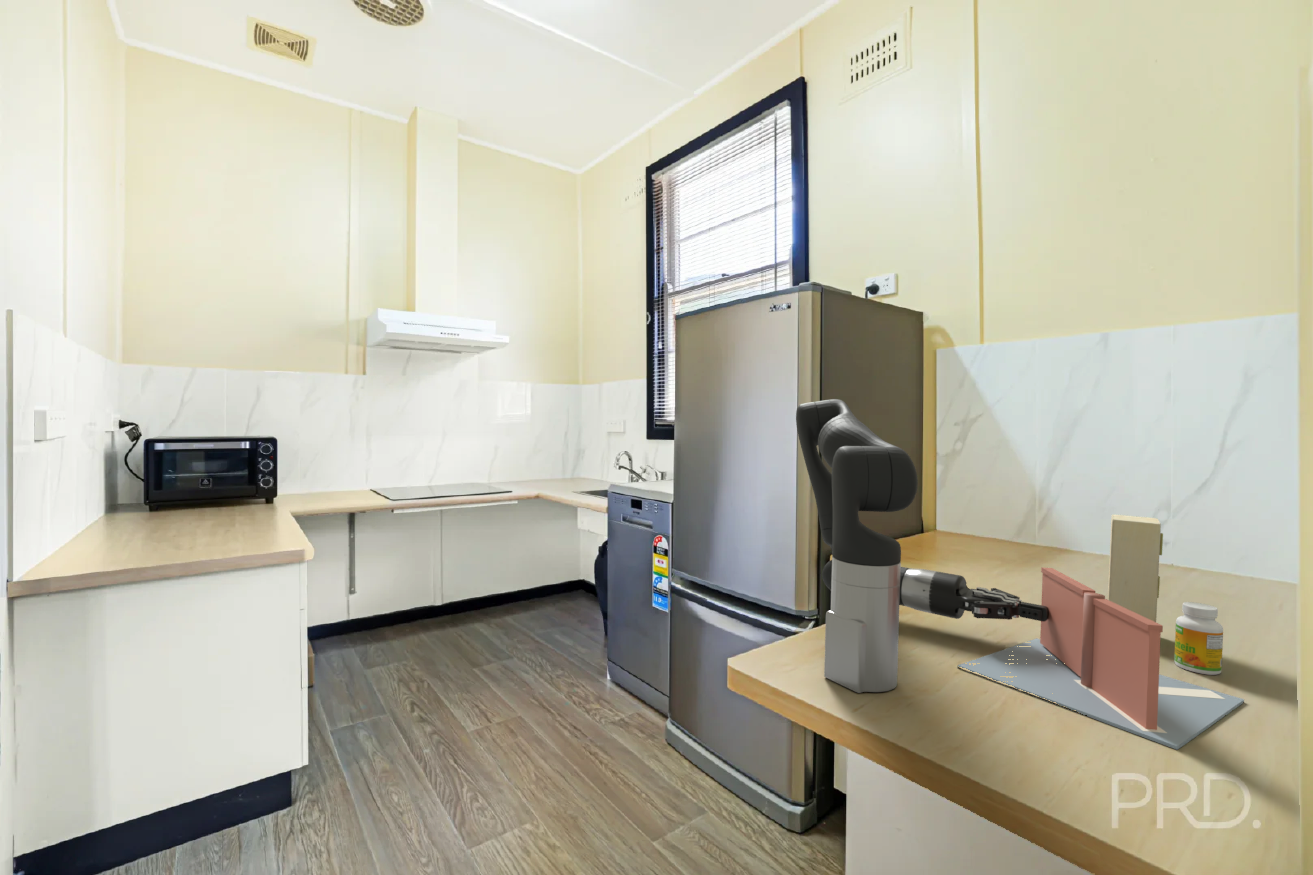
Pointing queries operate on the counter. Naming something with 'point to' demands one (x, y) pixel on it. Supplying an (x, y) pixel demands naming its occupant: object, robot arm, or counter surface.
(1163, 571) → the counter surface
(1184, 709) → the card
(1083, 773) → the counter surface
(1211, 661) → the supplement bottle
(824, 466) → the robot arm
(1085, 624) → the bar
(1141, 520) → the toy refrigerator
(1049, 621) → the panel
